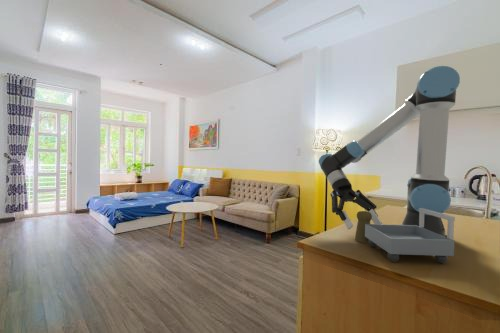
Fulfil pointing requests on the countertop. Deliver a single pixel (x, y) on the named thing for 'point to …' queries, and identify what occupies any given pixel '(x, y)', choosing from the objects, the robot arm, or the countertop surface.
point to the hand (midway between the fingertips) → (365, 226)
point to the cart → (413, 238)
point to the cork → (362, 226)
